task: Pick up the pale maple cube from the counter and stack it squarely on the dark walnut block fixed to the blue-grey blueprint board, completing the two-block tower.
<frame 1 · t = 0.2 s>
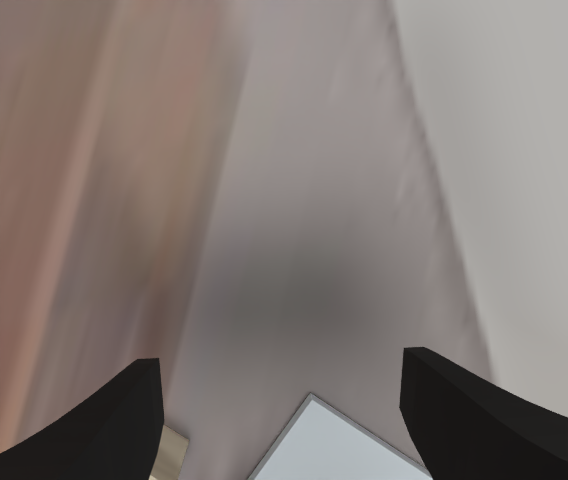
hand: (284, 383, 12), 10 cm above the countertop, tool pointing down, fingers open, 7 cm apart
maple block: (138, 449, 23), on the countertop
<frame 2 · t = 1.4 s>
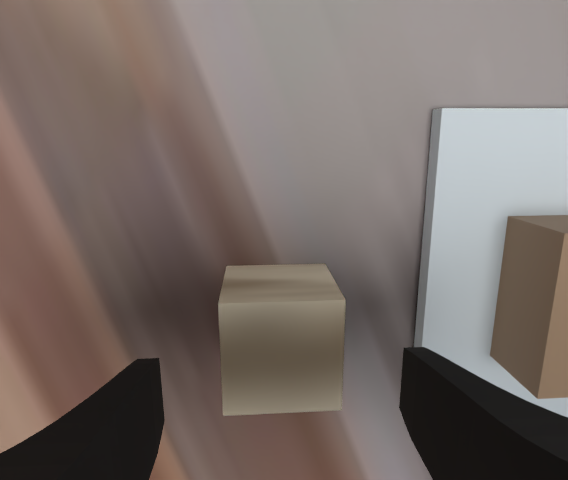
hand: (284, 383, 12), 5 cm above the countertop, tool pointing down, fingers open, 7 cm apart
maple block: (276, 309, 17), on the countertop
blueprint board: (554, 280, 18), on the countertop
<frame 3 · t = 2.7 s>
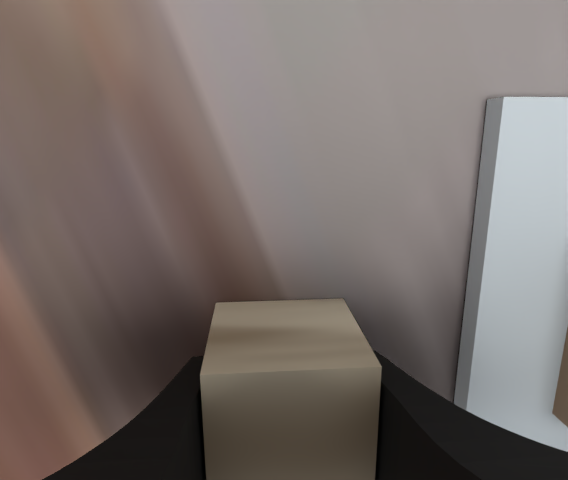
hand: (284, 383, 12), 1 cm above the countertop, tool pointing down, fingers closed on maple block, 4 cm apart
maple block: (280, 357, 13), on the countertop, touching gripper
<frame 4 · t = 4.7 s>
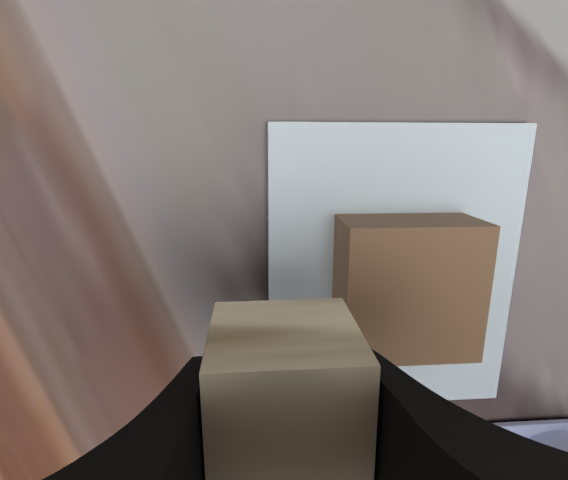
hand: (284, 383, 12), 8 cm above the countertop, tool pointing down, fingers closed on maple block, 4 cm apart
maple block: (279, 357, 13), point 7 cm above the countertop, touching gripper
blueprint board: (389, 269, 20), on the countertop
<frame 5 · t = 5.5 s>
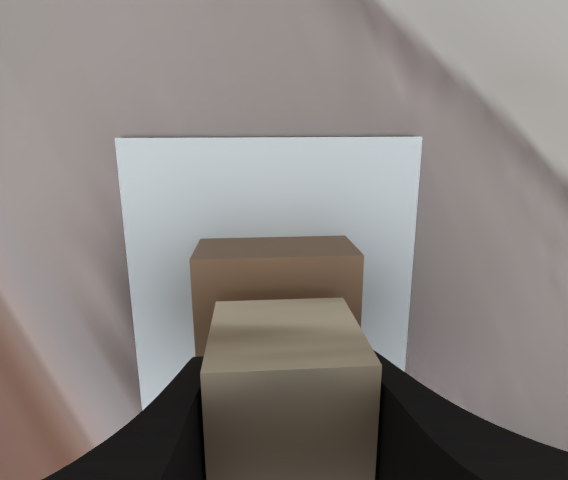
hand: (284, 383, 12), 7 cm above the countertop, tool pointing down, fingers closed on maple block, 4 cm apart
maple block: (280, 356, 13), point 5 cm above the countertop, touching gripper
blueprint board: (273, 297, 18), on the countertop
when the fingers open (6 cm above the countertop, at t = 6.4 s): maple block stays where it is, resting on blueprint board.
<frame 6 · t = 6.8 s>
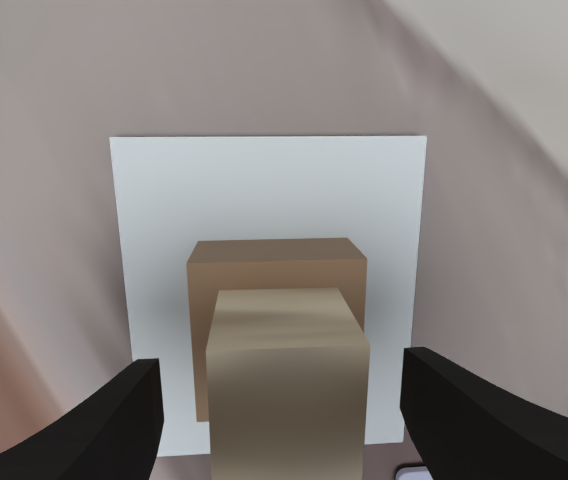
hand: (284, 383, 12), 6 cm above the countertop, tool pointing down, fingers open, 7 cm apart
maple block: (278, 342, 14), point 4 cm above the countertop, touching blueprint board
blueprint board: (273, 301, 18), on the countertop
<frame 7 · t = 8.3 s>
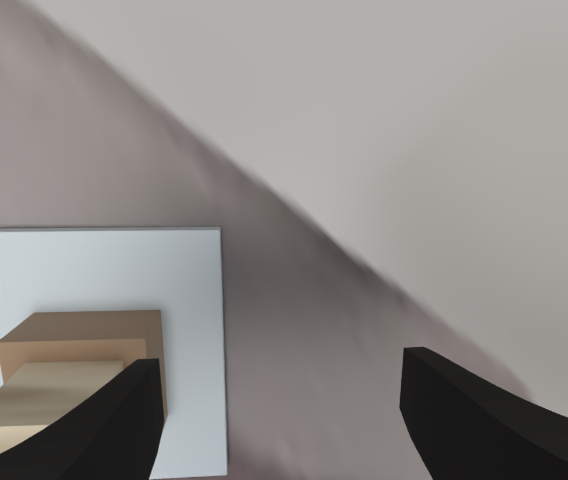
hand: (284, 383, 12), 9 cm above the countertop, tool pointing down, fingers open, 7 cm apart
maple block: (79, 402, 18), point 4 cm above the countertop, touching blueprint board
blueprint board: (109, 357, 21), on the countertop
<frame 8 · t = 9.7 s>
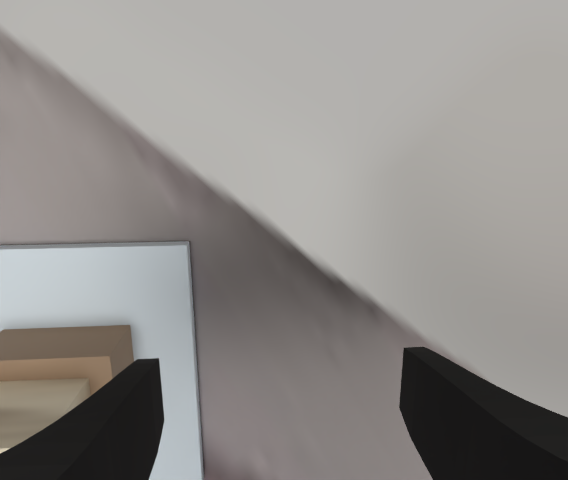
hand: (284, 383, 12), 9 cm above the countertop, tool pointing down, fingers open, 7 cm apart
maple block: (46, 420, 18), point 4 cm above the countertop, touching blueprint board
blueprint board: (81, 372, 22), on the countertop
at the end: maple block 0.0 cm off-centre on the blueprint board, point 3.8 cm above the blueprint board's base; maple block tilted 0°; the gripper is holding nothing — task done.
